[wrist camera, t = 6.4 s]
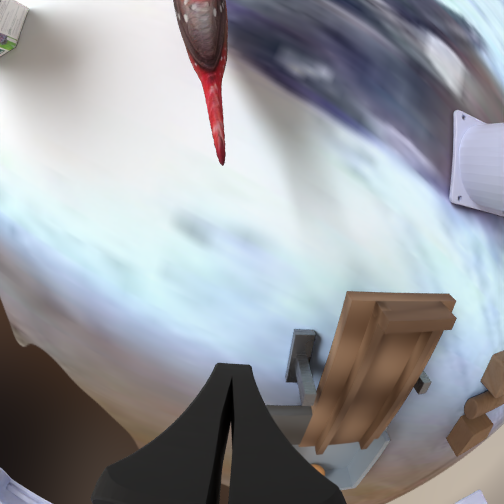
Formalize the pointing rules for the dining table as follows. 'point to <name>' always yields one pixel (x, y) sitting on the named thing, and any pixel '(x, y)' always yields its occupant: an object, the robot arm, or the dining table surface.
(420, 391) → the lever stand
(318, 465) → the ball
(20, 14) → the syrup box
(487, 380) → the wooden block set
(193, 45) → the red pointed-tail figurine
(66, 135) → the dining table surface
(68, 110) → the dining table surface
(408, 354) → the wooden rack
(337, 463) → the tray
